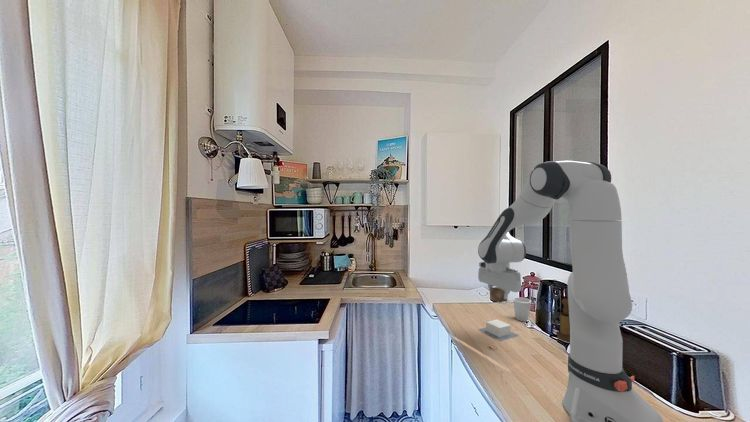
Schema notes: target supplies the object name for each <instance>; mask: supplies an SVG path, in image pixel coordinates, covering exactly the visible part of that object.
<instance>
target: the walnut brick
mask: <svg viewBox="0 0 750 422" xmlns="http://www.w3.org/2000/svg"><path fill="white" fill-rule="evenodd" d="M504 293H505V292H504V289H502V288H499V287H496V286H493V288H490V290H489V300H490V301H494V302H497V303H499V304H500V303H504V302H508V298H507V299H503V298H502V295H503V294H504Z"/></svg>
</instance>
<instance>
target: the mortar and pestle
mask: <svg viewBox="0 0 750 422" xmlns="http://www.w3.org/2000/svg"><path fill="white" fill-rule="evenodd" d="M561 304H562V305H563V308H562V312H560V313H559V314H560V315H559V316H560V317H559V331H560V332H559V331H557V332H558V333H557V332H556V333H557V334H556V335H557V337H556V338H557V339H559V340H560V341H563V342H569V343H570V319H569V306H568V297H567V298H566V297H563V298H562V299H561Z"/></svg>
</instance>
